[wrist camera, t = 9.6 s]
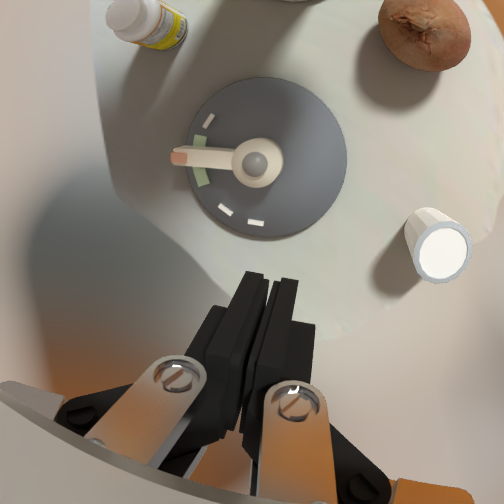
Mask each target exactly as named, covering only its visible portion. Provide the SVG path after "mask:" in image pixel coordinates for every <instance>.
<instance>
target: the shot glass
mask: <svg viewBox="0 0 504 504" xmlns="http://www.w3.org/2000/svg"><path fill="white" fill-rule="evenodd" d="M404 236H405V239H406V242H407V245H408V248H409V251H410V254H411V257H412V260H413V263H414V265H415V268H416V271H417V273H418V274H419V275H420V276H421V277H422V278H423V279H424V280H425V281H428V282H431V283H434V284H440V283H447V282H449V281H451V280H453V279H455V278H457V277H458V276H459V275H460V274H461V273H462V272H463V271H464V270H465V269H466V267H467V265H468V263H469V261H470V259H471V256H472V247H473V245H472V241H471V237H470V234H469V233H468V232H467V230H466V229H465V228H464V227H463V226H462V225H461V224H459V223H458V222H456V221H454V220H453V219H451V218H450V217H448V216H446V215H445V214H443V213H441V212H440V211H438V210H435V209H433V208H421V209H419V210H417V211H414V212H413V213H412V214H411V216H410V217H409V218H408V219H407V222H406V224H405V227H404Z"/></svg>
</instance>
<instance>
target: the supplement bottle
mask: <svg viewBox="0 0 504 504" xmlns="http://www.w3.org/2000/svg"><path fill="white" fill-rule="evenodd" d="M106 23H107V25H108V27H109V28H111V29H112V30H113V31H114V33H115V35H116V36H117V37H118V38H119V39H121V40H124V41H127V42H131V43H135V44H138V45H142V46H146V47H149V48H153V49H156V50H169V49H172V48H174V47H176V46H177V45H179V44H180V43H181V42H182V41H183V39H184V38H185V36H186V34H187V31H188V22H187V19H186V17H185V16H184V15H183V14H182V13H181V12H179V11H178V10H176V9H174V8H172V7H171V6H169V5H167V4H165V3H164V2H162V1H160V0H115V1H114V2H113V3H112V4H111V5H110V6H109V8H108V10H107V13H106Z"/></svg>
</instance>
